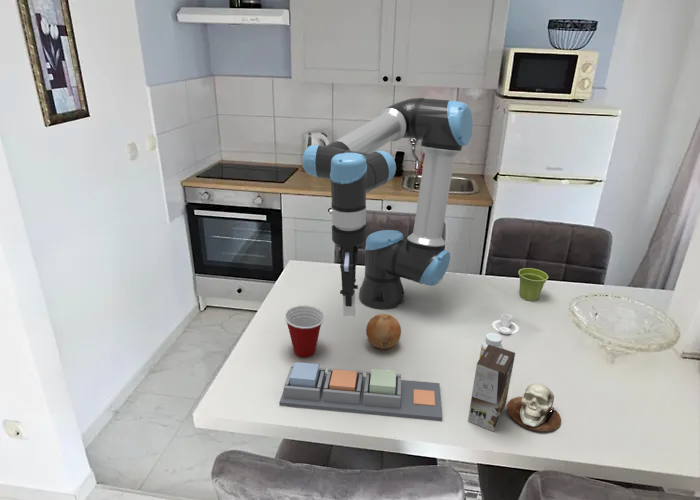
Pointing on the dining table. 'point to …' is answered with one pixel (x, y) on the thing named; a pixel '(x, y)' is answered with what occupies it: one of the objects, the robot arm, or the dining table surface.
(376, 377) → the button sage
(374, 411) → the console
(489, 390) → the coffee box
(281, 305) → the dining table surface
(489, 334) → the supplement bottle
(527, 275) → the plant pot
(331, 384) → the button terracotta
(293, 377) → the button slate
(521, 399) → the skull
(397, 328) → the onion
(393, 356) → the dining table surface
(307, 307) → the plastic cup
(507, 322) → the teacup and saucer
